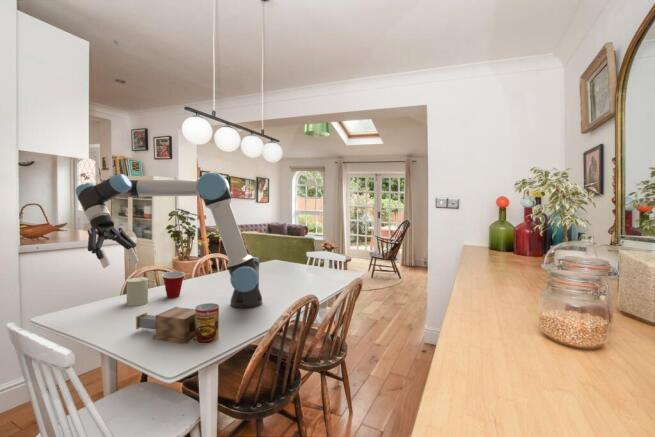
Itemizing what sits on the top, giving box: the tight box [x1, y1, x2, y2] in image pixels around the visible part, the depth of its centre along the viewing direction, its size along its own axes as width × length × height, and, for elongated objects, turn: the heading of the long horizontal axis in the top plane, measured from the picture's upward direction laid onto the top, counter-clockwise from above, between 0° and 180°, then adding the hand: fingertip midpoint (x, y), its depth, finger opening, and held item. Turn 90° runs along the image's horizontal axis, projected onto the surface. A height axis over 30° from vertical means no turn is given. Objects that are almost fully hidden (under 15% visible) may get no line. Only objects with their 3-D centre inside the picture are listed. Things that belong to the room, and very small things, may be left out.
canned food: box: [194, 302, 220, 345], centre depth 114 cm, size 8×8×12 cm
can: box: [125, 277, 149, 307], centre depth 152 cm, size 9×9×12 cm
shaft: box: [135, 312, 191, 331], centre depth 118 cm, size 21×5×5 cm, turn 76°
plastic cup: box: [161, 271, 186, 299], centre depth 164 cm, size 11×11×12 cm
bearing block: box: [152, 306, 195, 345], centre depth 117 cm, size 13×11×8 cm
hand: (122, 264), depth 124 cm, fingers open, 13 cm apart
